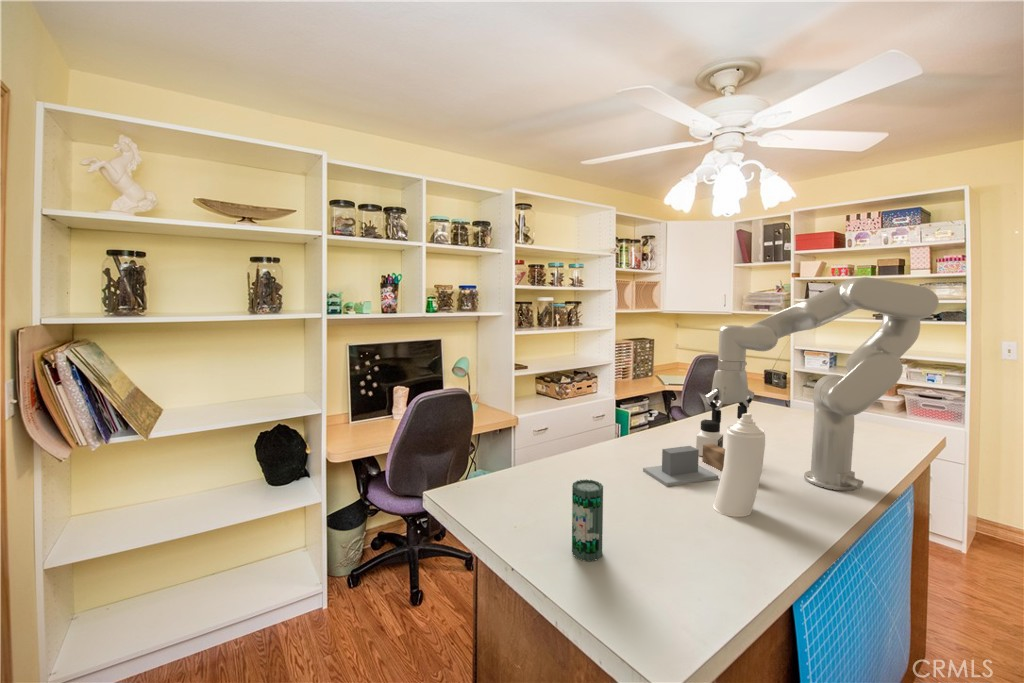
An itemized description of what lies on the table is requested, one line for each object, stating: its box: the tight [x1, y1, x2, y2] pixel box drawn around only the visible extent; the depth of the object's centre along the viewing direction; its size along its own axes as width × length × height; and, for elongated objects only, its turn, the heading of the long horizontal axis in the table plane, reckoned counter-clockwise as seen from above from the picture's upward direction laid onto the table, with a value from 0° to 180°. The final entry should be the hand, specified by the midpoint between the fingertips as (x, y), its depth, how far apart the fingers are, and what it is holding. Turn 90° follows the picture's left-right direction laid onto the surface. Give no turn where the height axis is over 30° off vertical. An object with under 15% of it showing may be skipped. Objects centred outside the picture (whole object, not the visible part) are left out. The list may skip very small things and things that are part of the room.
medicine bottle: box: [695, 418, 724, 457], centre depth 155 cm, size 7×7×12 cm
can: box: [571, 479, 604, 562], centre depth 96 cm, size 6×6×15 cm
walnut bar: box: [701, 444, 725, 472], centre depth 141 cm, size 18×4×6 cm, turn 16°
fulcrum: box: [642, 445, 719, 487], centre depth 138 cm, size 12×18×8 cm, turn 107°
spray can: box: [712, 412, 766, 518], centre depth 115 cm, size 12×11×25 cm
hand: (729, 420), depth 140 cm, fingers open, 9 cm apart
